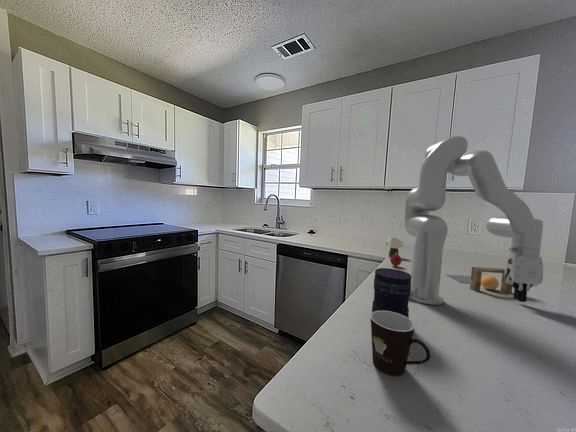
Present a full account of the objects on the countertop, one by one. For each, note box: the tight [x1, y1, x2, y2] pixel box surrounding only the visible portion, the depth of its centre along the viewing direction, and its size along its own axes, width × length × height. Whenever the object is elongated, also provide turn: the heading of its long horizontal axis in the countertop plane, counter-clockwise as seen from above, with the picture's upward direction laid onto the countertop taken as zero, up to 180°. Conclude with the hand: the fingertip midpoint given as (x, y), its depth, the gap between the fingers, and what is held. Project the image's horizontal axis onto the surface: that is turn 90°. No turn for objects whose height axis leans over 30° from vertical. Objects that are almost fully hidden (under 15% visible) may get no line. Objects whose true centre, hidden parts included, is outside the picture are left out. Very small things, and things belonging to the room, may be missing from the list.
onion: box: [389, 253, 402, 268], centre depth 132 cm, size 6×6×8 cm
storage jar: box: [371, 267, 411, 319], centre depth 68 cm, size 10×10×15 cm
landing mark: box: [446, 274, 471, 284], centre depth 115 cm, size 12×12×1 cm
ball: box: [480, 275, 500, 291], centre depth 102 cm, size 6×6×6 cm
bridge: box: [469, 266, 513, 294], centre depth 99 cm, size 3×15×10 cm, turn 87°
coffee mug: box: [370, 311, 431, 377], centre depth 48 cm, size 12×9×10 cm
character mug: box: [385, 237, 404, 258], centre depth 157 cm, size 11×7×13 cm, turn 50°
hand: (519, 300), depth 87 cm, fingers closed
